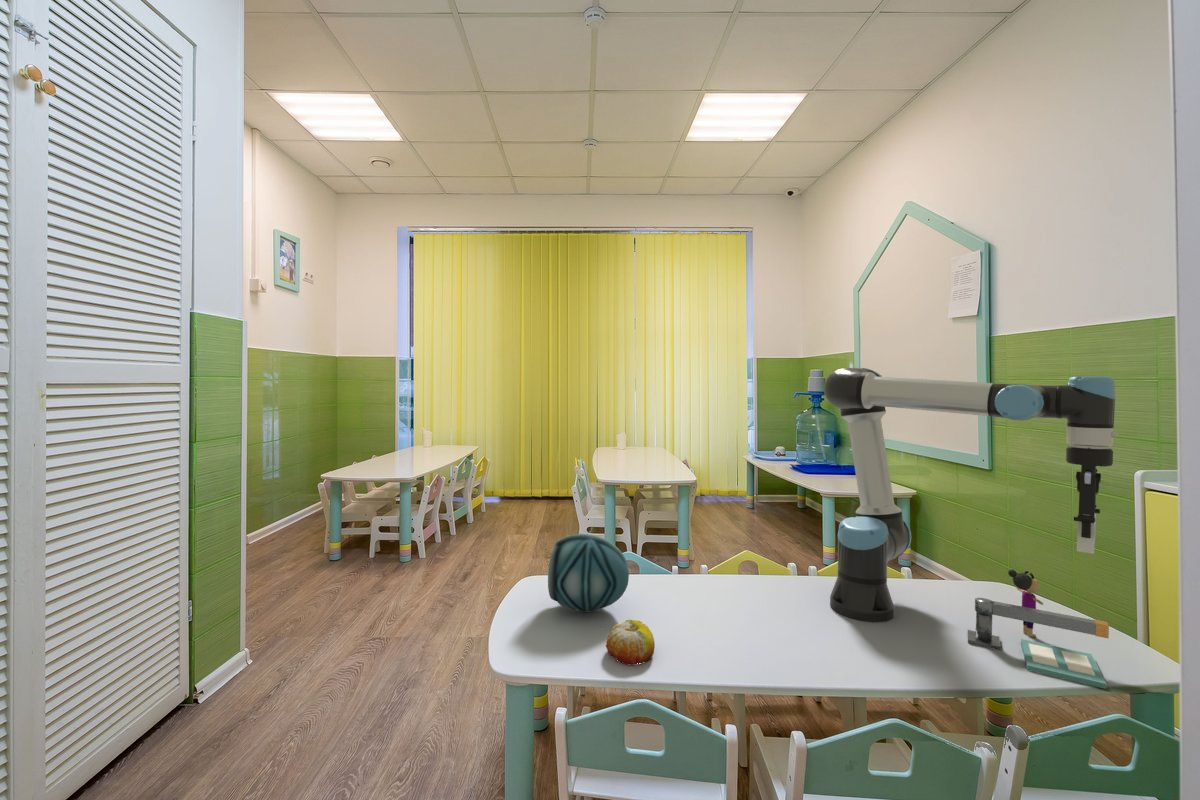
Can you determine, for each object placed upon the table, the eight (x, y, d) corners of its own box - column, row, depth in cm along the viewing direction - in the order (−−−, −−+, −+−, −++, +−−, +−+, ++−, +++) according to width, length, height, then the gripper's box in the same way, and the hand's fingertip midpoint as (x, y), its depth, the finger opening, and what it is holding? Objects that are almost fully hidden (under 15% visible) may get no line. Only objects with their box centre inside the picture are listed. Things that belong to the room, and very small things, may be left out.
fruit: (603, 639, 120) (613, 606, 120) (647, 654, 120) (657, 620, 120) (602, 664, 109) (614, 627, 109) (650, 680, 109) (662, 643, 109)
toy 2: (1051, 646, 119) (1052, 580, 119) (1023, 643, 120) (1024, 578, 120) (1023, 625, 129) (1025, 565, 129) (998, 623, 130) (999, 563, 130)
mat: (1027, 669, 109) (1027, 663, 109) (1020, 643, 120) (1020, 637, 120) (1106, 689, 102) (1106, 682, 102) (1091, 658, 114) (1091, 652, 114)
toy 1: (560, 594, 147) (560, 523, 147) (631, 598, 144) (631, 526, 144) (544, 624, 129) (544, 543, 128) (625, 629, 126) (625, 547, 125)
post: (967, 643, 120) (968, 614, 120) (967, 633, 125) (968, 605, 125) (1000, 650, 117) (1001, 621, 117) (999, 639, 122) (999, 611, 122)
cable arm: (974, 612, 120) (975, 601, 120) (974, 607, 123) (974, 596, 123) (1109, 639, 108) (1109, 626, 108) (1105, 633, 111) (1105, 620, 111)
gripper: (1113, 452, 104) (1110, 563, 105) (1113, 444, 120) (1109, 539, 121) (1063, 449, 109) (1060, 554, 110) (1069, 441, 126) (1066, 533, 126)
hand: (1086, 546), depth 115 cm, fingers open, 10 cm apart
